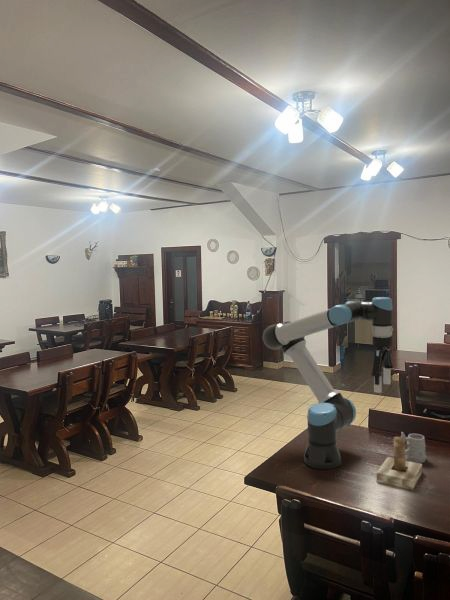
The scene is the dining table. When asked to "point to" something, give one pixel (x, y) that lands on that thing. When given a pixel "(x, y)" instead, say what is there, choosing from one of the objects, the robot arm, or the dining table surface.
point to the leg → (399, 454)
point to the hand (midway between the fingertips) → (382, 388)
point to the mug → (415, 447)
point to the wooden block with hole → (399, 474)
